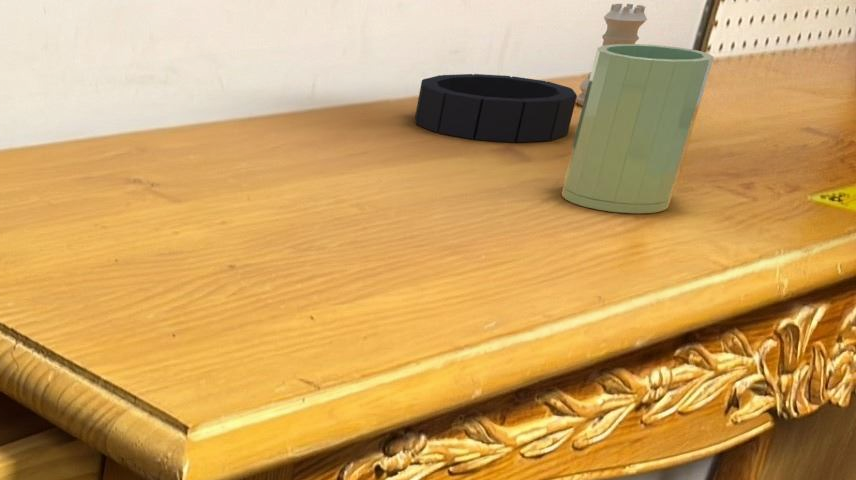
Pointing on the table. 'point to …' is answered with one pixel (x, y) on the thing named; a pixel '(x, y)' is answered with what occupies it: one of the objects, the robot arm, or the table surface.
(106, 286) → the table surface
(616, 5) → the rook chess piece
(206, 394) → the table surface
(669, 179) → the cup
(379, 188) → the table surface
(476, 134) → the ring
